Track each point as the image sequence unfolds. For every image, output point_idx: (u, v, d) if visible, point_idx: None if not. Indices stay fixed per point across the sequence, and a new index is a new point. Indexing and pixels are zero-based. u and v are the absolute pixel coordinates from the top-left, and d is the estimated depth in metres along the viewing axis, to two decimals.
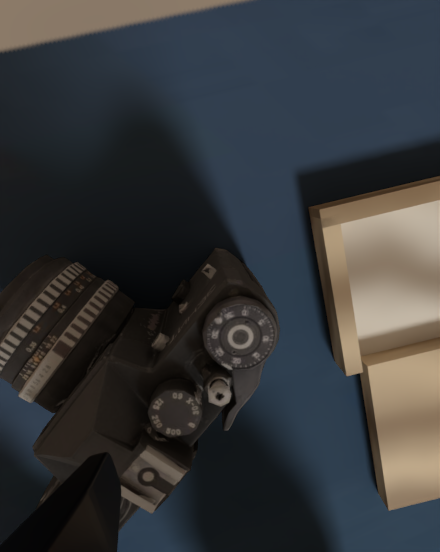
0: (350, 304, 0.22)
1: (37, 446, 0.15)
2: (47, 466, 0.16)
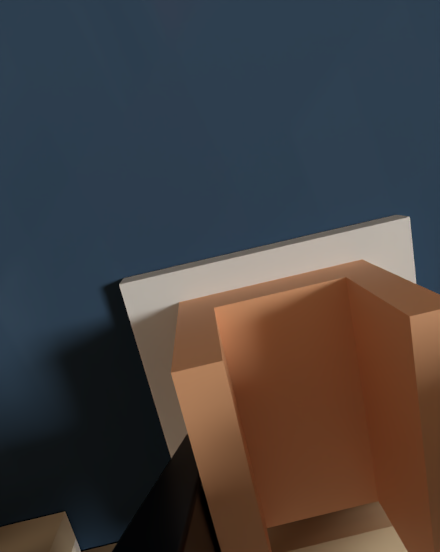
0: None
1: None
2: None
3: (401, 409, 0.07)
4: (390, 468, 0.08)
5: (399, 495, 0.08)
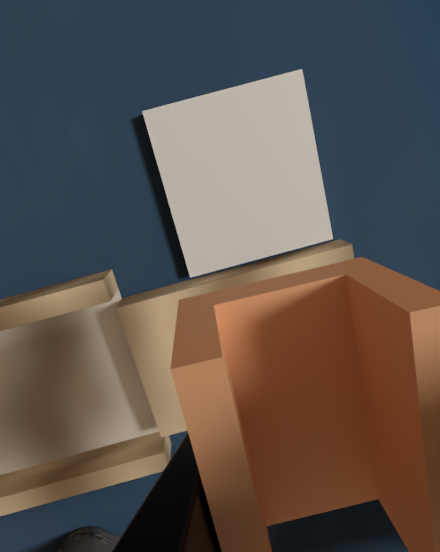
0: (76, 478, 0.19)
1: None
2: None
3: (401, 406, 0.07)
4: (390, 466, 0.08)
5: (399, 493, 0.08)
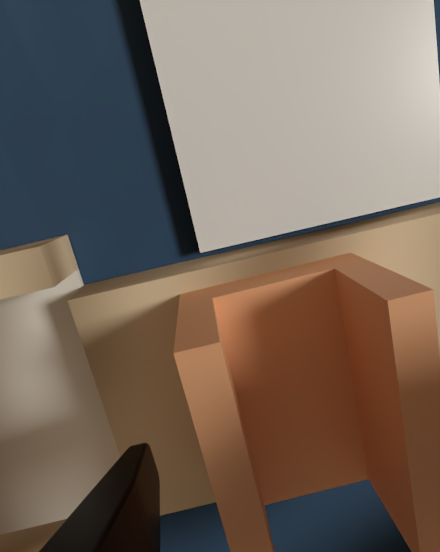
0: None
1: None
2: None
3: (383, 388, 0.08)
4: (377, 445, 0.09)
5: (385, 469, 0.09)
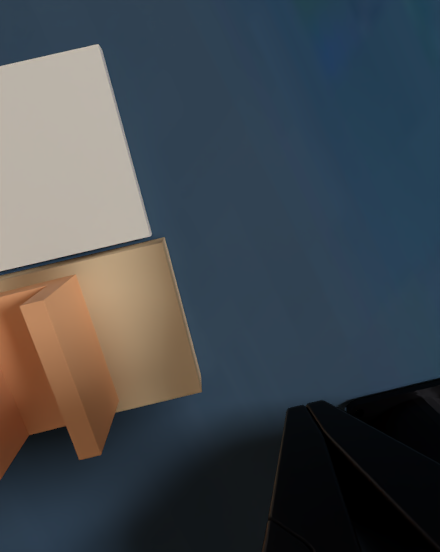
0: None
1: None
2: None
3: None
4: None
5: None
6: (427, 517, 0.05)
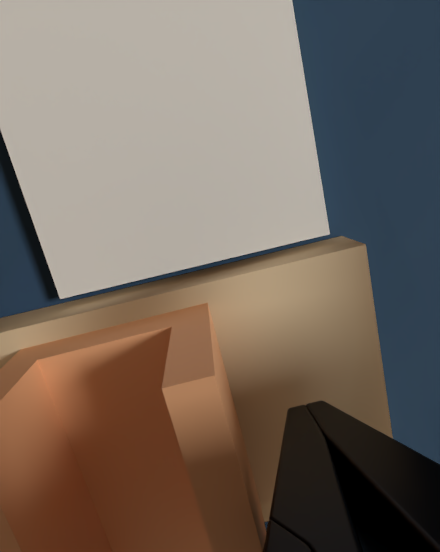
0: None
1: None
2: None
3: None
4: None
5: None
6: (426, 517, 0.05)
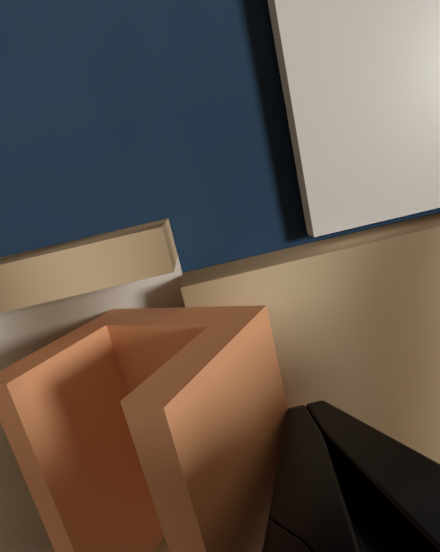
0: None
1: None
2: None
3: None
4: None
5: None
6: (427, 517, 0.05)
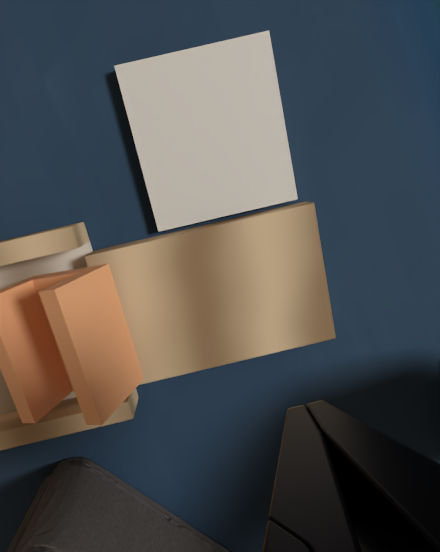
0: (42, 424, 0.19)
1: None
2: None
3: None
4: None
5: None
6: (427, 517, 0.05)
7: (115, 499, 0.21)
